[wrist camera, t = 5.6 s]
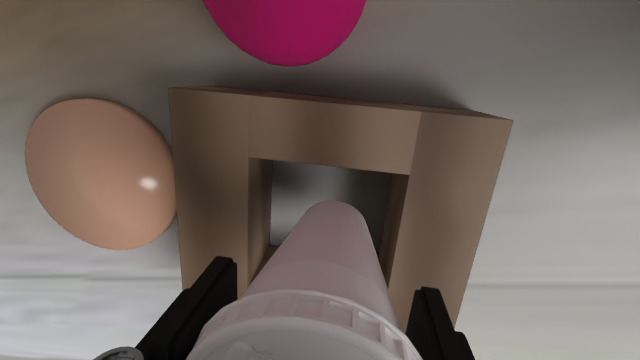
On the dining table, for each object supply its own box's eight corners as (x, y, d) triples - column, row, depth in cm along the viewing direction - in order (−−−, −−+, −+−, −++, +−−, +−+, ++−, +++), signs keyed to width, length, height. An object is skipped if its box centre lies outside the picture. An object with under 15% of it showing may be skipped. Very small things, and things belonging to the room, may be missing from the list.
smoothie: (276, 168, 16) (-182, 667, 2) (403, 182, 15) (724, 948, 2) (274, 274, 18) (20, 849, 4) (385, 289, 17) (471, 1009, 4)
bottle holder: (471, 110, 18) (513, 120, 13) (426, 301, 23) (445, 359, 18) (213, 86, 19) (168, 87, 15) (218, 272, 24) (184, 320, 19)
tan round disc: (177, 106, 20) (168, 107, 19) (186, 251, 23) (179, 258, 23) (23, 91, 21) (8, 91, 20) (54, 233, 24) (42, 240, 23)
